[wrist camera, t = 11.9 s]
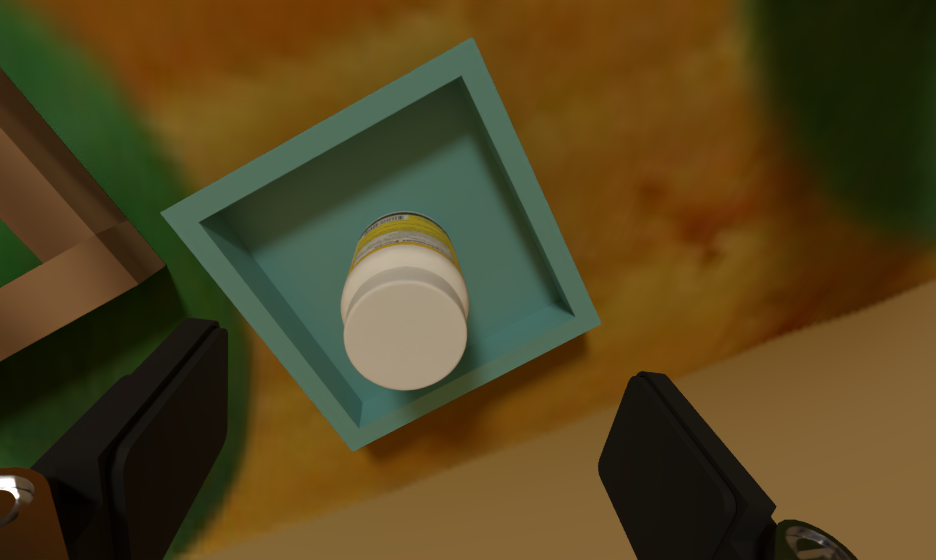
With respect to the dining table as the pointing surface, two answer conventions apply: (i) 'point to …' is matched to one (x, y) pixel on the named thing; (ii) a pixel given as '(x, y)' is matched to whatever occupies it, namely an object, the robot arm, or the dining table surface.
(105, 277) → the square wooden frame
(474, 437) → the dining table surface
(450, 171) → the tray
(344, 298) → the supplement bottle
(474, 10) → the dining table surface
